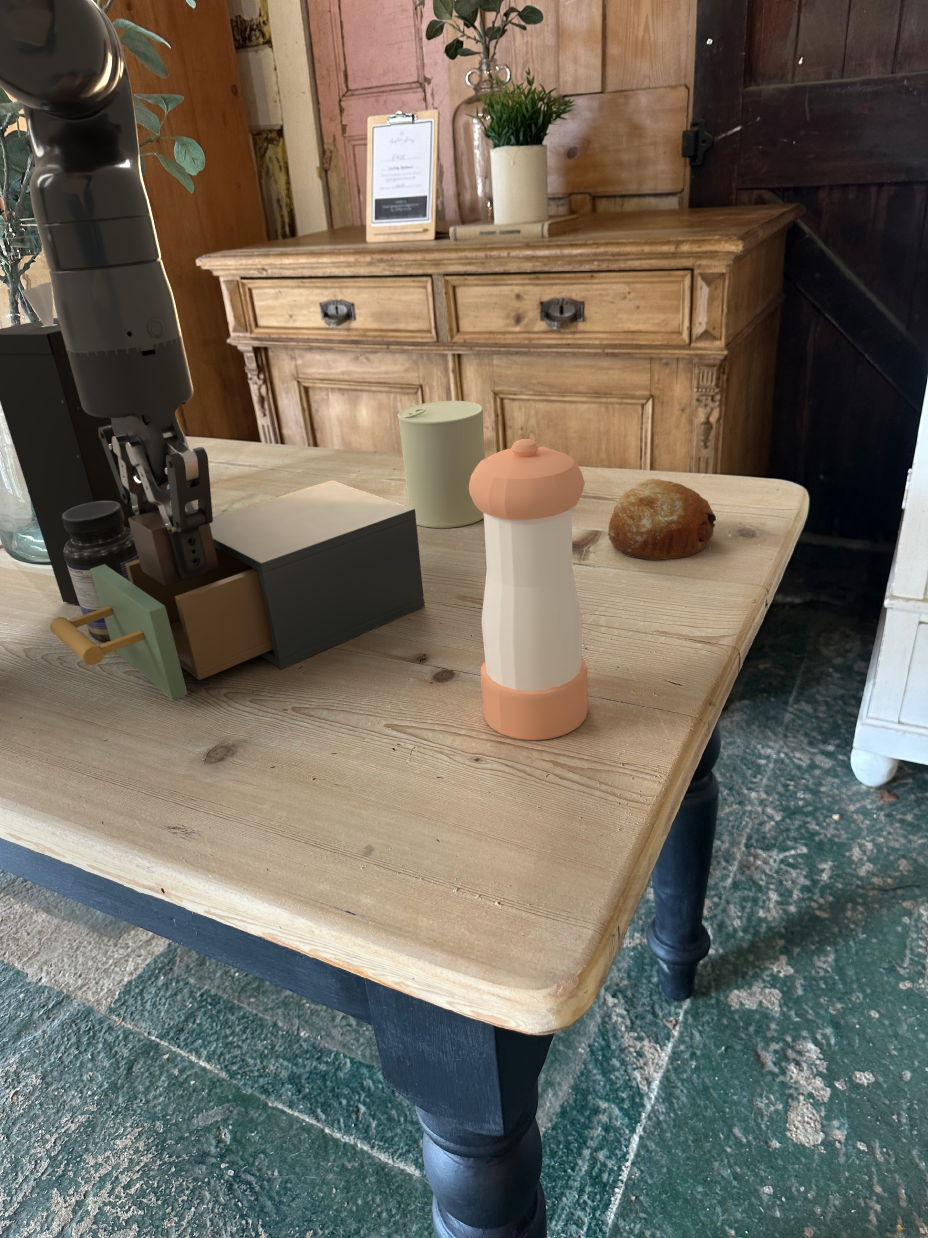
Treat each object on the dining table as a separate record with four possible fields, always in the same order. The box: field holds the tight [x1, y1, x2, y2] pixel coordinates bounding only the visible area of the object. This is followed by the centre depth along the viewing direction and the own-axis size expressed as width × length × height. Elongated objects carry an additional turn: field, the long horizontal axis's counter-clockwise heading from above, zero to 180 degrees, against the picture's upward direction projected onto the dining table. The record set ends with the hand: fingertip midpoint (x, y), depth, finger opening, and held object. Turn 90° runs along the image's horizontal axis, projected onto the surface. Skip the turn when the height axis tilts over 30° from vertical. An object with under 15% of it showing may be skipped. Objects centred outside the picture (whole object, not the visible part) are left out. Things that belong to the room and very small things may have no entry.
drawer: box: [49, 548, 273, 701], centre depth 68 cm, size 18×11×7 cm, turn 131°
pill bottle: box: [62, 501, 139, 642], centre depth 74 cm, size 6×6×11 cm
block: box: [128, 505, 219, 586], centre depth 65 cm, size 4×4×4 cm
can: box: [397, 400, 486, 529], centre depth 94 cm, size 9×9×12 cm
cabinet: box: [210, 479, 426, 670], centre depth 74 cm, size 15×13×9 cm
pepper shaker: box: [469, 438, 589, 741], centre depth 56 cm, size 7×7×19 cm
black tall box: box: [0, 281, 136, 606], centre depth 77 cm, size 8×8×28 cm
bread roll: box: [607, 478, 717, 561], centre depth 84 cm, size 10×10×8 cm
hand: (179, 566), depth 66 cm, fingers closed on block, 4 cm apart
